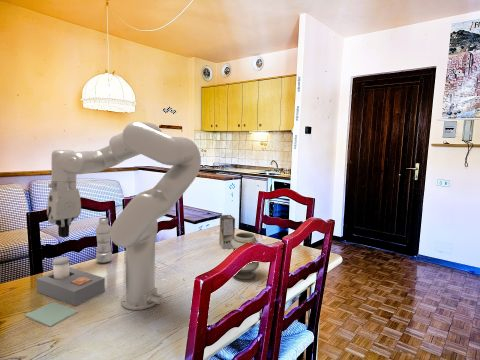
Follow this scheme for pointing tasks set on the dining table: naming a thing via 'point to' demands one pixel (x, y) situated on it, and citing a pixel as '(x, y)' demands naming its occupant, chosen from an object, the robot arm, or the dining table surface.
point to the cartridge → (61, 268)
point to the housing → (71, 287)
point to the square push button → (81, 281)
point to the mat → (51, 314)
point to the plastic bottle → (103, 241)
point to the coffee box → (226, 231)
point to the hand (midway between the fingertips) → (63, 236)
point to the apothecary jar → (246, 272)
